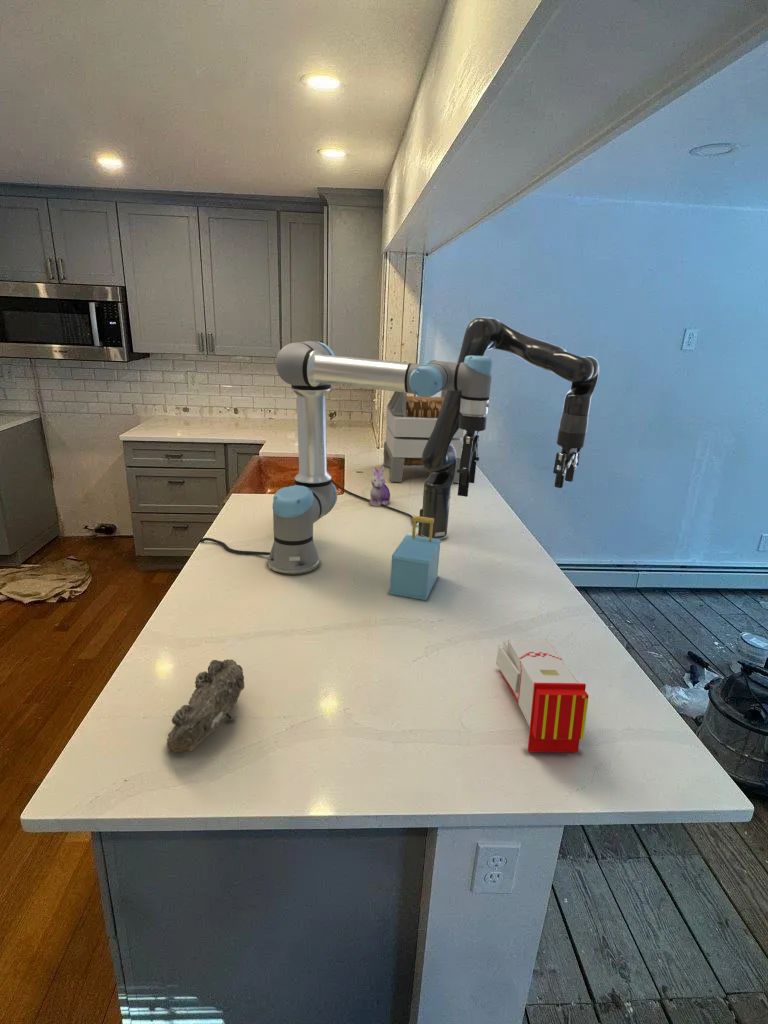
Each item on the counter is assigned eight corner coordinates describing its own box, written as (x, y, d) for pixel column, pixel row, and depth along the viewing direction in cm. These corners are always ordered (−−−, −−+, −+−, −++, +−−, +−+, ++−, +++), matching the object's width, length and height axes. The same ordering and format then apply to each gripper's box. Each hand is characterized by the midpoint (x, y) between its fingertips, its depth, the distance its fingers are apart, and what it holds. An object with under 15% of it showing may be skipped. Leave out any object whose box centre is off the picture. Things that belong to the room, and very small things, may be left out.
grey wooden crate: (382, 463, 289) (386, 382, 275) (445, 464, 293) (451, 384, 279) (390, 482, 257) (394, 392, 243) (460, 483, 261) (468, 394, 247)
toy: (545, 622, 128) (598, 691, 98) (539, 677, 130) (589, 759, 101) (491, 621, 127) (529, 690, 98) (487, 676, 130) (522, 759, 101)
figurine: (374, 508, 224) (376, 471, 219) (363, 500, 232) (364, 464, 227) (395, 505, 228) (397, 469, 223) (384, 497, 237) (385, 462, 231)
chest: (403, 571, 172) (405, 538, 168) (437, 576, 169) (440, 544, 165) (389, 593, 158) (391, 558, 154) (426, 600, 155) (428, 565, 151)
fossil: (192, 660, 117) (244, 628, 112) (224, 691, 120) (276, 661, 115) (142, 746, 98) (202, 712, 93) (182, 779, 101) (242, 748, 96)
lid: (406, 537, 169) (408, 512, 166) (440, 543, 166) (442, 516, 163) (391, 558, 154) (393, 530, 151) (428, 564, 151) (431, 536, 149)
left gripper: (481, 423, 142) (473, 503, 149) (492, 409, 165) (484, 479, 172) (452, 421, 144) (445, 500, 151) (466, 406, 167) (460, 476, 174)
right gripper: (568, 424, 167) (559, 476, 173) (550, 430, 156) (542, 486, 162) (593, 428, 163) (584, 481, 169) (577, 435, 152) (567, 492, 158)
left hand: (466, 489), depth 162 cm, fingers open, 13 cm apart
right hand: (563, 484), depth 165 cm, fingers open, 8 cm apart
